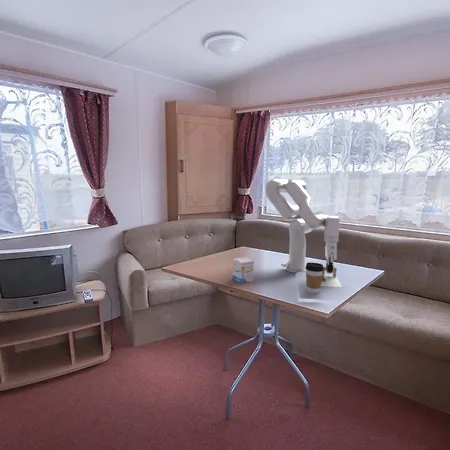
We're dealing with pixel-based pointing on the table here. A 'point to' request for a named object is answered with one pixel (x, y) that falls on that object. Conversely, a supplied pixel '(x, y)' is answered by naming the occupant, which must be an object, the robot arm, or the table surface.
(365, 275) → the table surface
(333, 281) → the base board
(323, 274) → the bobbin
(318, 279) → the coffee cup
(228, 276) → the table surface
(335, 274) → the notched rail
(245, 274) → the ink box
